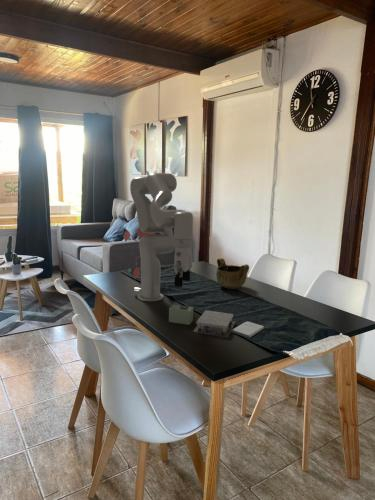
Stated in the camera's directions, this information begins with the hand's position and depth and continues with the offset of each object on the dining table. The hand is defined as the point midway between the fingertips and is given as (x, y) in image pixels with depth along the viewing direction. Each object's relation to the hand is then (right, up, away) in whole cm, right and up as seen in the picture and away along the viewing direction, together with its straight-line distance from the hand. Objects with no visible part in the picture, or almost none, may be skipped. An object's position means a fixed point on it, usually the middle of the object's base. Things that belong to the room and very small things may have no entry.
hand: (182, 283), depth 152 cm
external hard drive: (+26, -19, -4) cm, 33 cm away
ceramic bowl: (+26, -7, +53) cm, 59 cm away
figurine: (-22, -3, +66) cm, 70 cm away
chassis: (+13, -18, -2) cm, 22 cm away
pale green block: (-1, -16, +4) cm, 17 cm away
